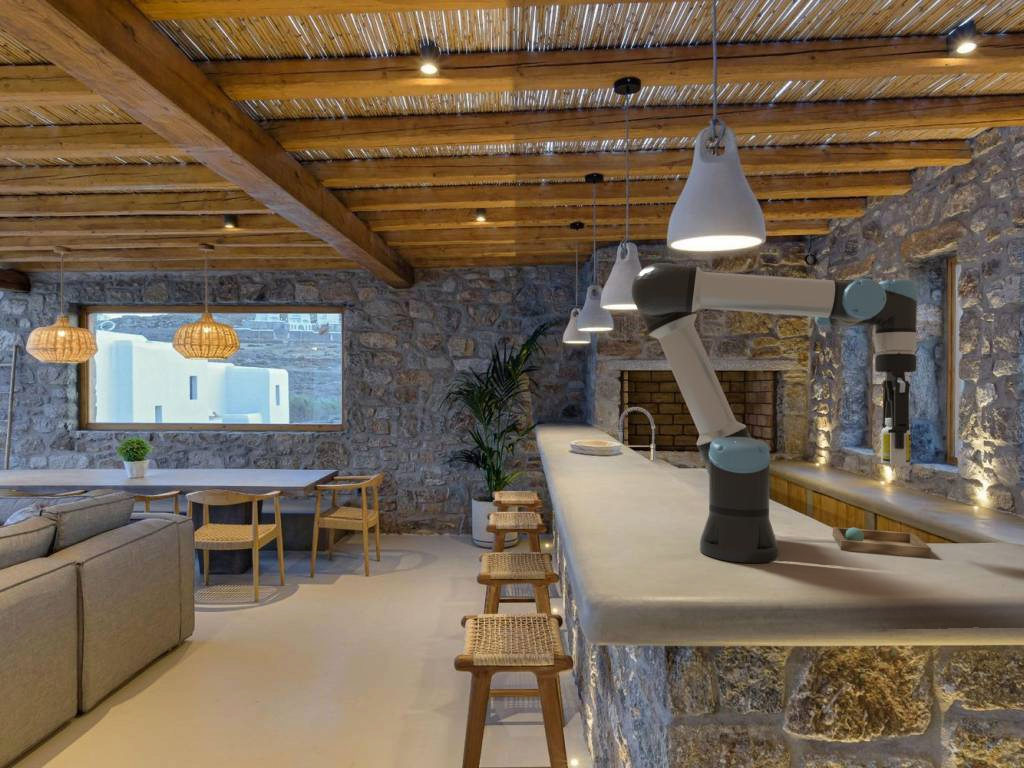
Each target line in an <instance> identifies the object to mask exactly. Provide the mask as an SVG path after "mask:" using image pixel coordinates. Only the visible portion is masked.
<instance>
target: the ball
mask: <svg viewBox="0 0 1024 768" xmlns="http://www.w3.org/2000/svg"><path fill="white" fill-rule="evenodd" d="M848 528H849V529H848V530H847V531H846V538H847V540H851V541H863V539H864V534H863V532H862V531H861V530H860V529H861V528H858V527H854V526H853V527H848Z"/></svg>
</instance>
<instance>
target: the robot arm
mask: <svg viewBox="0 0 1024 768" xmlns="http://www.w3.org/2000/svg"><path fill="white" fill-rule="evenodd" d="M631 297H632V301H633V303H634V304H635V307H636V309H637V311H638V312H639V314H640V317H641V319H642V322H643V323H644V326H645V328H646V331H647V332H648V335H649V337H652V338H655V339H657V340H658V341H659V344H660V346H661V348H662V351H663V353H664V355H665V358H666V360H667V363H668V365H669V367H670V369H671V373H672V374H673V376H674V377H673V378H674V379H675V381H676V383H677V385H678V387H679V388H678V389H679V391H680V393H681V395H682V397H683V400H684V401H685V404H686V406H687V409H688V411H689V413H690V416H691V418H692V420H693V422H694V425H695V427H696V429H697V432H698V434H699V435H698V439H697V441H696V447H697V448H698V451H699V454H700V456H701V459H702V461H703V463H704V466H705V468H706V471H707V473H708V476H709V478H708V479H709V480H708V481H709V487H708V488H709V489H708V490H709V491H708V492H709V493H708V494H709V497H708V500H709V501H708V503H709V509H708V510H709V512H708V516H707V519H706V522H705V526H704V528H703V531H702V534H701V536H700V540H699V542H700V543H699V551H700V552H701V553H702V554H704V555H705V556H708V557H710V558H714V559H718V560H720V561H721V560H722V561H727V562H733V563H735V562H736V563H747V564H748V563H749V564H750V563H751V564H756V563H757V564H761V563H769V562H773V561H776V560H777V559H776V558H778V556H779V545H778V542H777V539H776V535H775V533H774V529H773V527H772V523H771V520H770V464H771V459H772V457H771V454H770V447H769V445H768V444H767V443H766V442H765V441H764V440H760V439H755V438H752V436H751V435H750V431H749V430H748V427H747V426H746V424H743V423H741V422H739V421H737V419H736V418H735V416H734V413H733V411H732V409H731V405H730V404H729V402H728V400H727V397H726V395H725V393H724V390H723V388H722V386H721V384H720V381H719V378H718V377H717V375H716V372H715V370H714V368H713V365H712V363H711V361H710V358H709V356H708V354H707V352H706V349H705V348H704V344H703V343H702V340H701V338H700V336H699V334H698V331H697V329H696V326H695V322H696V318H697V316H698V315H697V313H696V311H697V310H698V309H707V310H718V311H719V310H720V311H733V312H734V311H736V312H748V313H749V312H750V313H760V314H772V315H774V314H776V315H787V316H789V315H790V316H797V317H798V316H799V317H813V318H814V322H815V324H816V325H817V327H830V328H835V327H865V326H867V327H872V326H873V327H874V328H875V333H874V351H875V353H878V354H877V355H876V356H875V359H874V361H875V362H874V365H875V366H874V370H875V371H876V372H877V373H886V375H885V378H886V379H885V380H883V382H882V384H881V386H882V424H881V426H882V427H883V428H886V425H885V418H891V419H892V429H889V430H888V433H890V464H894V465H893V466H902V465H906V433H907V431H908V430H910V400H909V399H910V387H911V384H910V382H909V381H908V380H906V373H914V372H916V371H917V357H918V356H917V355H916V354H914V352H916V351H917V343H919V342H920V338H919V337H917V318H918V317H917V316H918V315H917V314H918V313H917V312H918V301H919V300H918V291H917V284H916V282H915V281H913V280H910V279H905V278H903V279H901V278H900V279H898V278H897V279H889V280H882V281H879V282H878V281H876V280H874V279H870V278H860V279H856V280H853V281H852V280H851V281H849V280H833V279H821V278H820V279H818V278H817V279H816V278H803V277H788V276H774V275H772V276H771V275H758V274H757V275H755V274H743V273H742V274H741V273H728V272H727V273H726V272H725V273H724V272H713V271H711V272H710V271H703V270H702V269H701V267H699V266H696V265H694V266H693V265H683V264H675V263H665V262H659V263H652V264H649V265H647V266H645V267H644V268H642V269H641V270H640V271H639V272H638V273H637V274H636V275H635V277H634V279H633V281H632V285H631Z"/></svg>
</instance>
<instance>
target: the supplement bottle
mask: <svg viewBox="0 0 1024 768" xmlns="http://www.w3.org/2000/svg"><path fill="white" fill-rule="evenodd" d="M885 425H886V428H884V427H883V428H882V429H881V431H880V432H881V433H880V463H881V464H882V465H889V466H895V465H894V464H890V433H888V430H889V429H892V419H891V418H885ZM911 434H912V433H911V430H910V429H909V430H908V431H907V433H906V465H901V467H902V466H904V467H905V466H906V467H907V466H910V465H911V441H912V440H911V439H912V438H911Z"/></svg>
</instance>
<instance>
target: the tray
mask: <svg viewBox="0 0 1024 768" xmlns="http://www.w3.org/2000/svg"><path fill="white" fill-rule="evenodd" d="M849 528H850V527H834V526H832V537H833V539H834V540H835V543H837V546H838V548H839V549H840V551H844V552H845V551H846V552H847V551H849V552H859V553H872V554H880V555H893V556H894V555H896V556H903V557H904V556H905V557H917V558H927V559H932V547H930V545H928V544H927V543H925V542H924V541H923V540H922V539H921V538H920V537H919V536H918V535H916V534H915V532H912V533H911V532H902V531H889V530H875V529H873V530H872V529H862V528H859V529H860V530H861V531H862V532H863V534H864V539H863V541H851V540H847V538H846V531H847V530H848V529H849Z"/></svg>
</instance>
